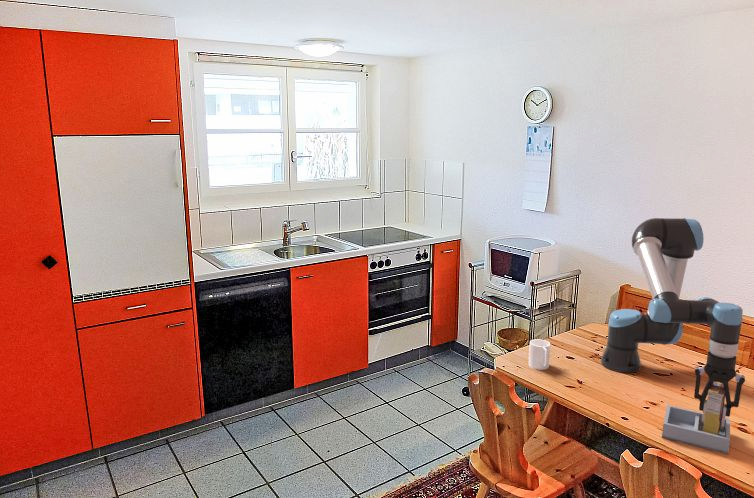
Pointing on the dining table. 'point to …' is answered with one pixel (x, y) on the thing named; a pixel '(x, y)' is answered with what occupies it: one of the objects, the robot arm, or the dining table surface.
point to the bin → (694, 430)
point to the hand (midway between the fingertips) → (712, 422)
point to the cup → (539, 354)
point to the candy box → (714, 408)
